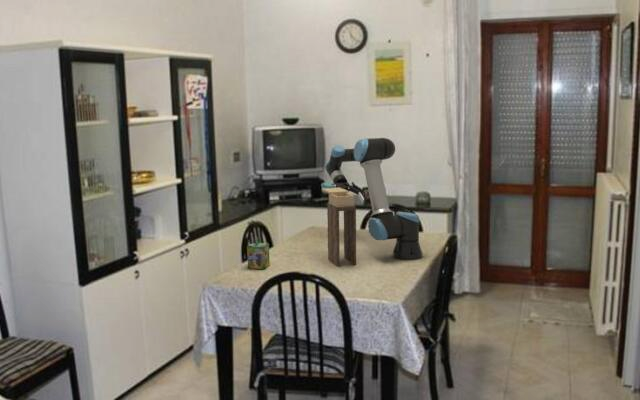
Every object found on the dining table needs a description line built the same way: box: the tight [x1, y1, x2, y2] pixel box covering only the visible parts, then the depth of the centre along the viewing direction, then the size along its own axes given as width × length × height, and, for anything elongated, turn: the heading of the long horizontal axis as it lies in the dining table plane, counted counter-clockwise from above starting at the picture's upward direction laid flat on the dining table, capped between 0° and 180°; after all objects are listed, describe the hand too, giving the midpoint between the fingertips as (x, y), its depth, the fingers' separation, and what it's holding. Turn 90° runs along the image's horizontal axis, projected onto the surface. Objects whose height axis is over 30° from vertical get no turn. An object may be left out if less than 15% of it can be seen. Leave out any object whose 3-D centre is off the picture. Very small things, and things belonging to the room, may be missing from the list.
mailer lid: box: [320, 182, 350, 195], centre depth 330 cm, size 24×10×2 cm, turn 17°
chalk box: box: [246, 237, 271, 270], centre depth 315 cm, size 9×9×15 cm
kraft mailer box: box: [328, 193, 355, 207], centre depth 317 cm, size 13×9×5 cm
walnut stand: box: [326, 202, 357, 268], centre depth 319 cm, size 15×10×30 cm, turn 17°
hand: (352, 202), depth 351 cm, fingers open, 13 cm apart
